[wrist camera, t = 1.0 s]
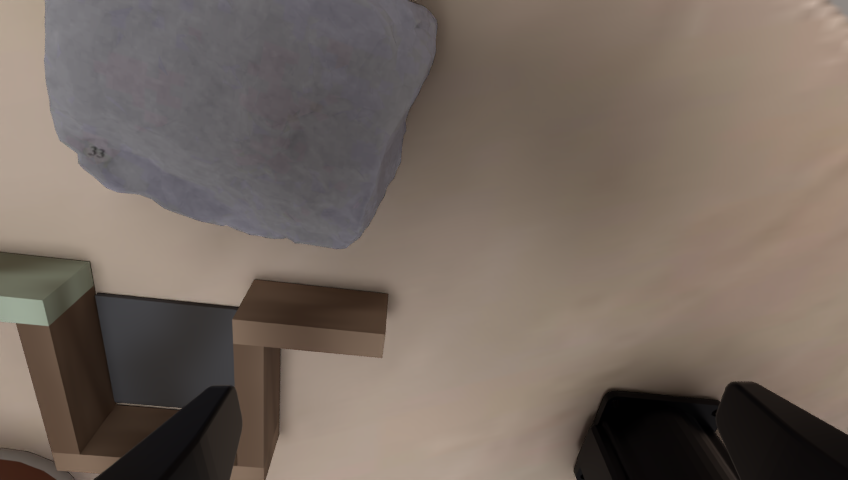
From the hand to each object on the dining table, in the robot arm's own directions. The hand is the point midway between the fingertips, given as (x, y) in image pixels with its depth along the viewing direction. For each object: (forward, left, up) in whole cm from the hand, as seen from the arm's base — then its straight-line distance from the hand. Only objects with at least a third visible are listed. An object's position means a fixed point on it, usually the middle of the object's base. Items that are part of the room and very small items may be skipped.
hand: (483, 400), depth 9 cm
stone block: (+7, -2, -13) cm, 15 cm away
